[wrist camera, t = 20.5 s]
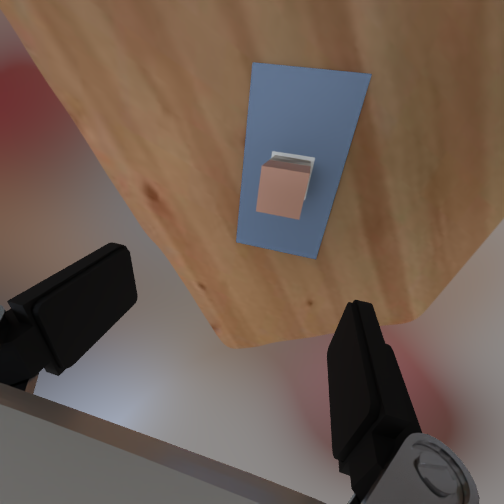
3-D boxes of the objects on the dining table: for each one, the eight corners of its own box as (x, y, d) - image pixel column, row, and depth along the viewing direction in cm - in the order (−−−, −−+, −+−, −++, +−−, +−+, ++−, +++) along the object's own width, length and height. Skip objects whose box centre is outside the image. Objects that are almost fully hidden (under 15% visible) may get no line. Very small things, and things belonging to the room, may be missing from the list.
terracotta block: (310, 166, 27) (310, 173, 23) (301, 206, 30) (299, 219, 26) (269, 159, 28) (261, 165, 24) (263, 199, 31) (255, 211, 26)
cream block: (310, 160, 32) (310, 166, 27) (302, 196, 34) (300, 206, 30) (275, 155, 32) (269, 159, 28) (269, 190, 35) (263, 199, 31)
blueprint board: (370, 75, 27) (371, 73, 26) (315, 257, 39) (315, 259, 39) (253, 63, 29) (252, 62, 28) (237, 240, 41) (236, 242, 41)
